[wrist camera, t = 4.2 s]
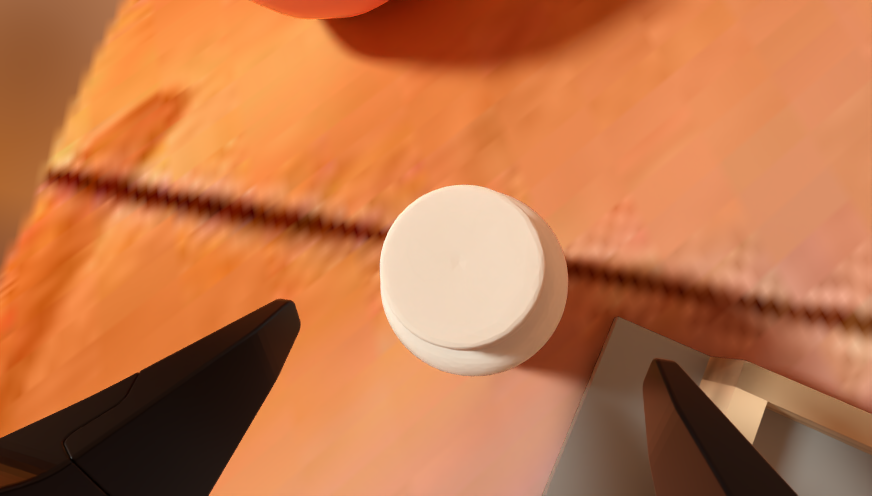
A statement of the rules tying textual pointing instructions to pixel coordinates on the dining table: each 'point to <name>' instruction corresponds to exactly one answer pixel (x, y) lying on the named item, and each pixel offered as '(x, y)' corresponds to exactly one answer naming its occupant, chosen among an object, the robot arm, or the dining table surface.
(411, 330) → the supplement bottle
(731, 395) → the end holder
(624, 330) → the board
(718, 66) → the dining table surface
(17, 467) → the robot arm
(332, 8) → the cell model
